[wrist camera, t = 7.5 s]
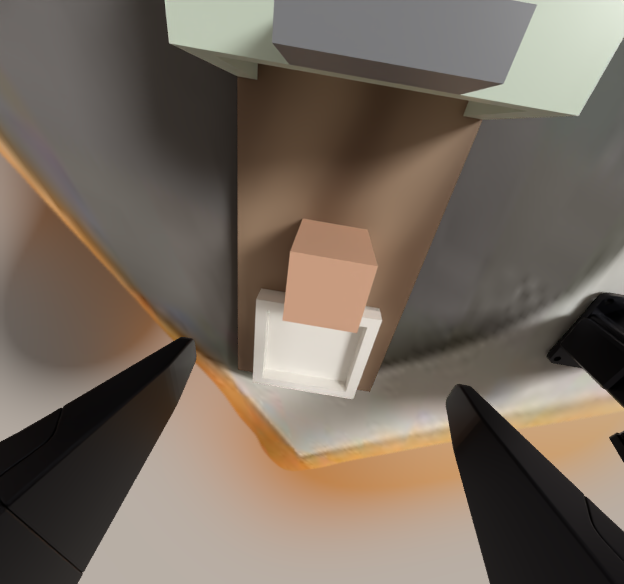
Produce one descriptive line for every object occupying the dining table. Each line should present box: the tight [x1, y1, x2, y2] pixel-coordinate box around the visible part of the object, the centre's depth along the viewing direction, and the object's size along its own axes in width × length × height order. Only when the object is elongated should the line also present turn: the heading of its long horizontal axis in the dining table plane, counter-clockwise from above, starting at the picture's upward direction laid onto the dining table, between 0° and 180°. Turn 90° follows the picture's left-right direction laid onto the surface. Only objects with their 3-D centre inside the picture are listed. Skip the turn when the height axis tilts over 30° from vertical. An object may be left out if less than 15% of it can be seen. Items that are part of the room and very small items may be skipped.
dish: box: [253, 288, 382, 399], centre depth 21 cm, size 9×9×1 cm
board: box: [237, 63, 483, 392], centre depth 17 cm, size 12×28×1 cm, turn 171°
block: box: [282, 219, 378, 333], centre depth 15 cm, size 4×4×5 cm
